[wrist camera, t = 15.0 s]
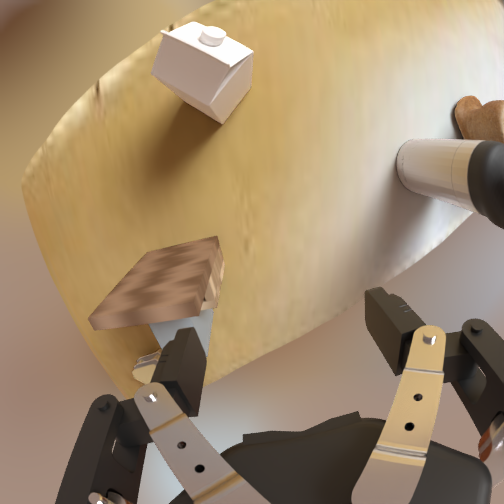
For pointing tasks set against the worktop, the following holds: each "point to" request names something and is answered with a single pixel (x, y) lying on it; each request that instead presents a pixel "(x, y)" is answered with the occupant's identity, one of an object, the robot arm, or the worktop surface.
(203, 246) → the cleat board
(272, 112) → the worktop surface
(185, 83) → the milk carton
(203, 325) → the blue-grey block
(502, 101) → the tan boot vase
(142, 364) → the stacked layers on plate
